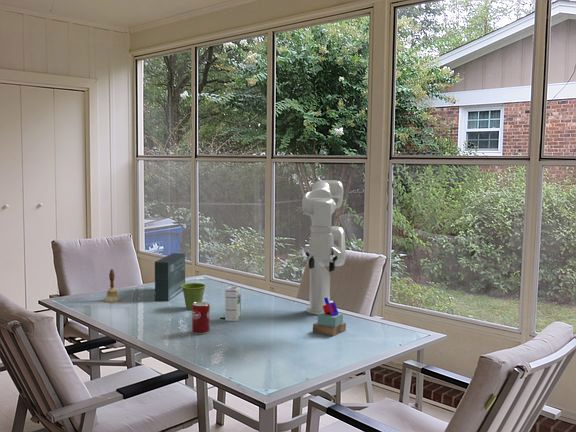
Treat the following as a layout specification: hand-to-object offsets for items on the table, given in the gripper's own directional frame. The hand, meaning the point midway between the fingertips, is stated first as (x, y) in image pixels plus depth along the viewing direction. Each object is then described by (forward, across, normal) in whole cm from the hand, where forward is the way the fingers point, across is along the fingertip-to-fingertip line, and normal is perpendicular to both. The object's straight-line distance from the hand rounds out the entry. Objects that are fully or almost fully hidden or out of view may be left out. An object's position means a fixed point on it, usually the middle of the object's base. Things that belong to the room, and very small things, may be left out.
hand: (321, 269), depth 249 cm
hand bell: (+27, -111, -18) cm, 116 cm away
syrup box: (+26, -39, -11) cm, 48 cm away
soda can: (+25, -38, -34) cm, 57 cm away
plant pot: (+27, -67, -6) cm, 72 cm away
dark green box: (+28, -96, +8) cm, 101 cm away
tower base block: (+26, +6, -2) cm, 27 cm away
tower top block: (+22, +6, -2) cm, 23 cm away
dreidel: (+18, +6, -2) cm, 19 cm away
